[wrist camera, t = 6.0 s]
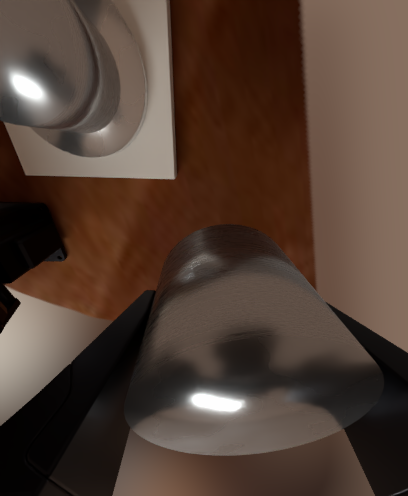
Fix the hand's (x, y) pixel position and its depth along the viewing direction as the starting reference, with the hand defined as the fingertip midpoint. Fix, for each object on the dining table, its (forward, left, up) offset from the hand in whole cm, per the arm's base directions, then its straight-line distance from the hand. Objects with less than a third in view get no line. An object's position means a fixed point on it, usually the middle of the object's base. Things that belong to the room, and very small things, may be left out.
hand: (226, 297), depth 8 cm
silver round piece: (-9, +9, -9) cm, 16 cm away
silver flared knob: (0, 0, -1) cm, 1 cm away
